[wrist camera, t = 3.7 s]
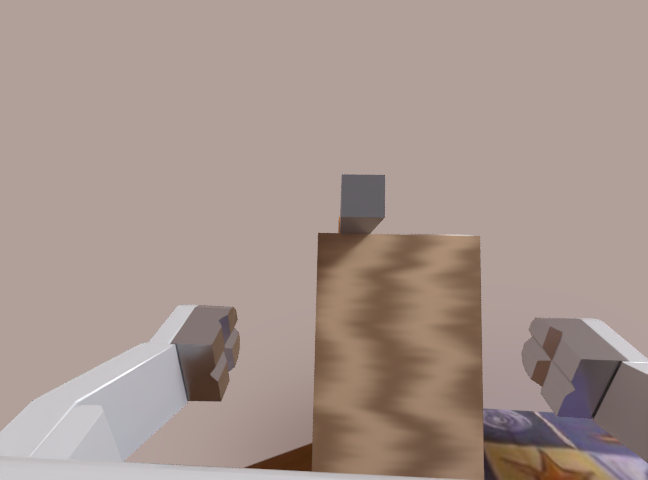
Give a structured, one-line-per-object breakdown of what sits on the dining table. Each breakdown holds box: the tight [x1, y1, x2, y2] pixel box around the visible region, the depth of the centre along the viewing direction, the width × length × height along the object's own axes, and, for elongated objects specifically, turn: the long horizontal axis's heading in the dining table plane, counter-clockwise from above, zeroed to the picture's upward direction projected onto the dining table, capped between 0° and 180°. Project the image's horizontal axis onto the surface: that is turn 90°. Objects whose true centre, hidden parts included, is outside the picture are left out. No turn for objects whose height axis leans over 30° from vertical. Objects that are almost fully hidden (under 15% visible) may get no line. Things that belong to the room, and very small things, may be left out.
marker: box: [339, 175, 385, 234], centre depth 28 cm, size 3×20×3 cm, turn 177°
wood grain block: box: [312, 233, 484, 480], centre depth 31 cm, size 13×12×26 cm
